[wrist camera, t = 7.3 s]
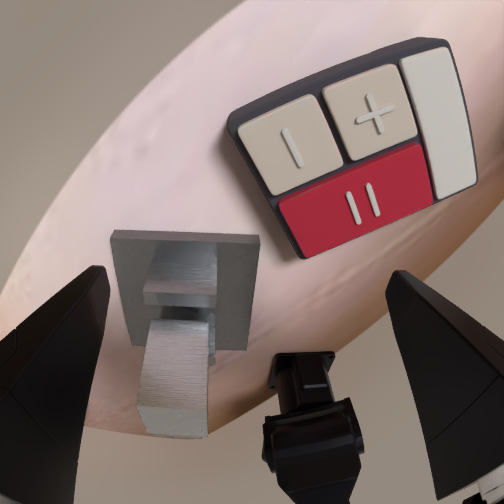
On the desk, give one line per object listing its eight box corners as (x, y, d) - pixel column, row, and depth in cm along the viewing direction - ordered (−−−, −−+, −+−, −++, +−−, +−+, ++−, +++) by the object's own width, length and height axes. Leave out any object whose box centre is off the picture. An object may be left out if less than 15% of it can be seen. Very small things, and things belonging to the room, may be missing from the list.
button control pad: (222, 127, 17) (455, 38, 13) (226, 112, 20) (421, 35, 16) (302, 269, 22) (485, 189, 19) (294, 235, 26) (456, 165, 22)
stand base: (245, 340, 31) (249, 386, 27) (134, 335, 30) (124, 379, 26) (258, 235, 24) (266, 280, 20) (114, 229, 23) (92, 272, 19)
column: (208, 358, 25) (207, 439, 19) (158, 356, 24) (148, 435, 18) (208, 321, 22) (206, 410, 16) (151, 318, 22) (136, 405, 16)
